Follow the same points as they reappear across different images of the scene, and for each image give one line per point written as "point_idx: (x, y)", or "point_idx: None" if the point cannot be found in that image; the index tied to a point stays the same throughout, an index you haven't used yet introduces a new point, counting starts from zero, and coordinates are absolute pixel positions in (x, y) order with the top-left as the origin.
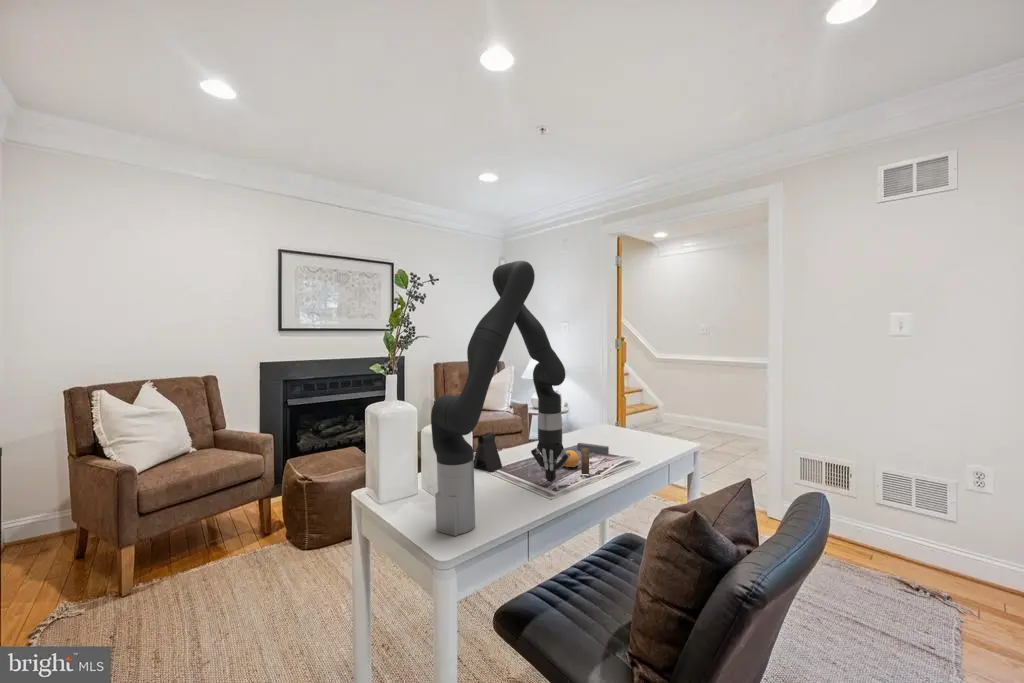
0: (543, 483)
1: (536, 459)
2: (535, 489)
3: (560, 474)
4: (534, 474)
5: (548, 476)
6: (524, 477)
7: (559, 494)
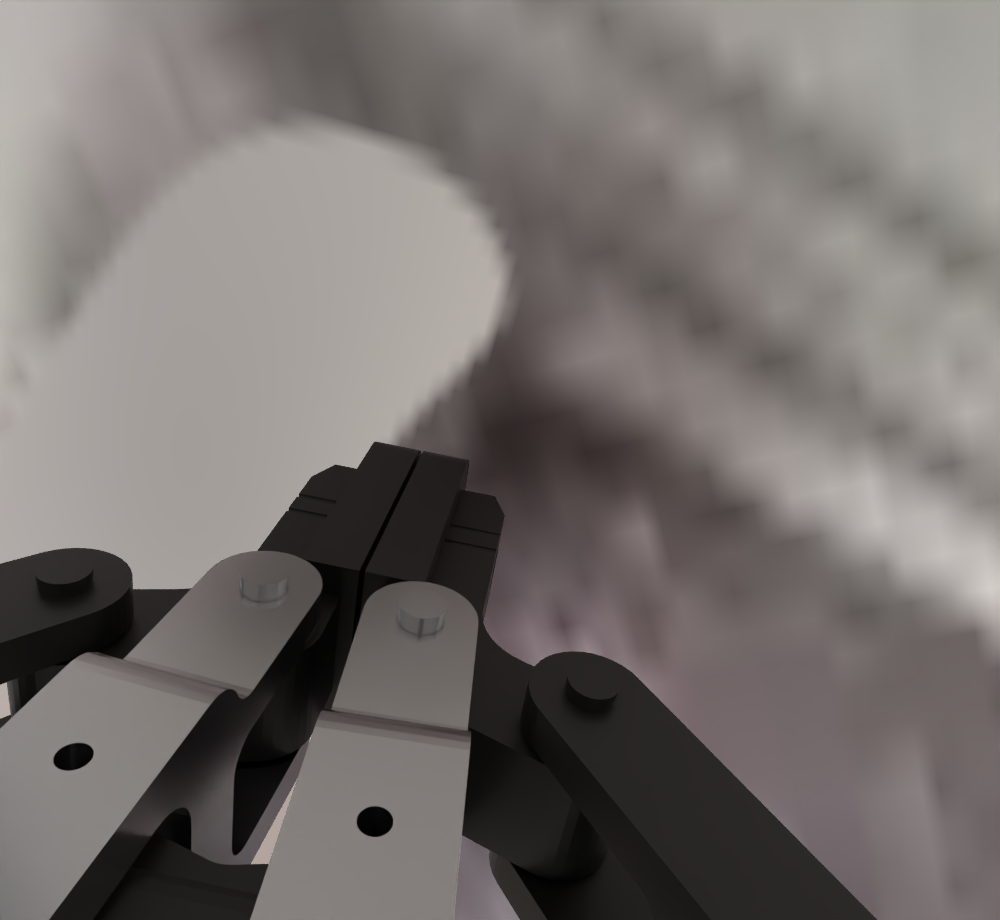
0: (588, 531)
1: (793, 870)
2: (670, 221)
3: None
4: (822, 829)
5: (416, 497)
6: (983, 701)
7: (150, 112)
